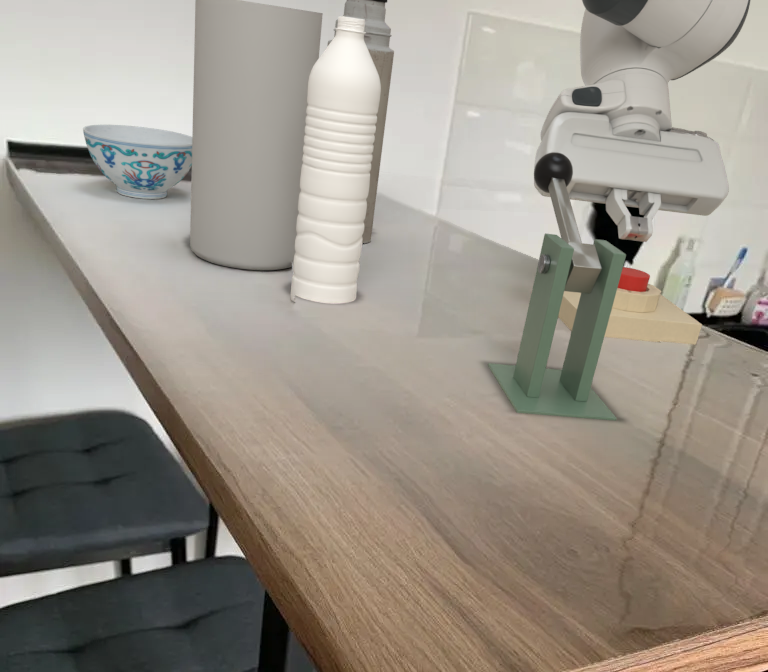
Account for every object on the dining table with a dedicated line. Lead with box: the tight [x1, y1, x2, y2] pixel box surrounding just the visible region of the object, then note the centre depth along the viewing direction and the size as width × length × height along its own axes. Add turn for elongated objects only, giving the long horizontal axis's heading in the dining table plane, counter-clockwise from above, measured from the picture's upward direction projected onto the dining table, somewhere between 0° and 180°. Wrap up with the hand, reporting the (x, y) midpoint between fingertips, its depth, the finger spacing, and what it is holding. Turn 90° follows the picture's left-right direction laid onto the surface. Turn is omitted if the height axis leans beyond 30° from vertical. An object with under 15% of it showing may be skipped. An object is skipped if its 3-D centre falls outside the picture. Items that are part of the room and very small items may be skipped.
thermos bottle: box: [327, 0, 395, 245], centre depth 107 cm, size 8×8×28 cm
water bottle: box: [290, 15, 381, 305], centre depth 81 cm, size 9×6×25 cm
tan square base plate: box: [558, 283, 703, 346], centre depth 90 cm, size 13×11×5 cm
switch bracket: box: [487, 233, 627, 421], centre depth 67 cm, size 10×8×13 cm
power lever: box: [533, 152, 602, 294], centre depth 68 cm, size 15×3×3 cm, turn 7°
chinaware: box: [82, 124, 192, 200], centre depth 118 cm, size 15×15×8 cm
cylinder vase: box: [189, 0, 324, 271], centre depth 92 cm, size 12×12×25 cm
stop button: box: [618, 266, 651, 292], centre depth 89 cm, size 4×4×2 cm
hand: (635, 237), depth 87 cm, fingers closed
